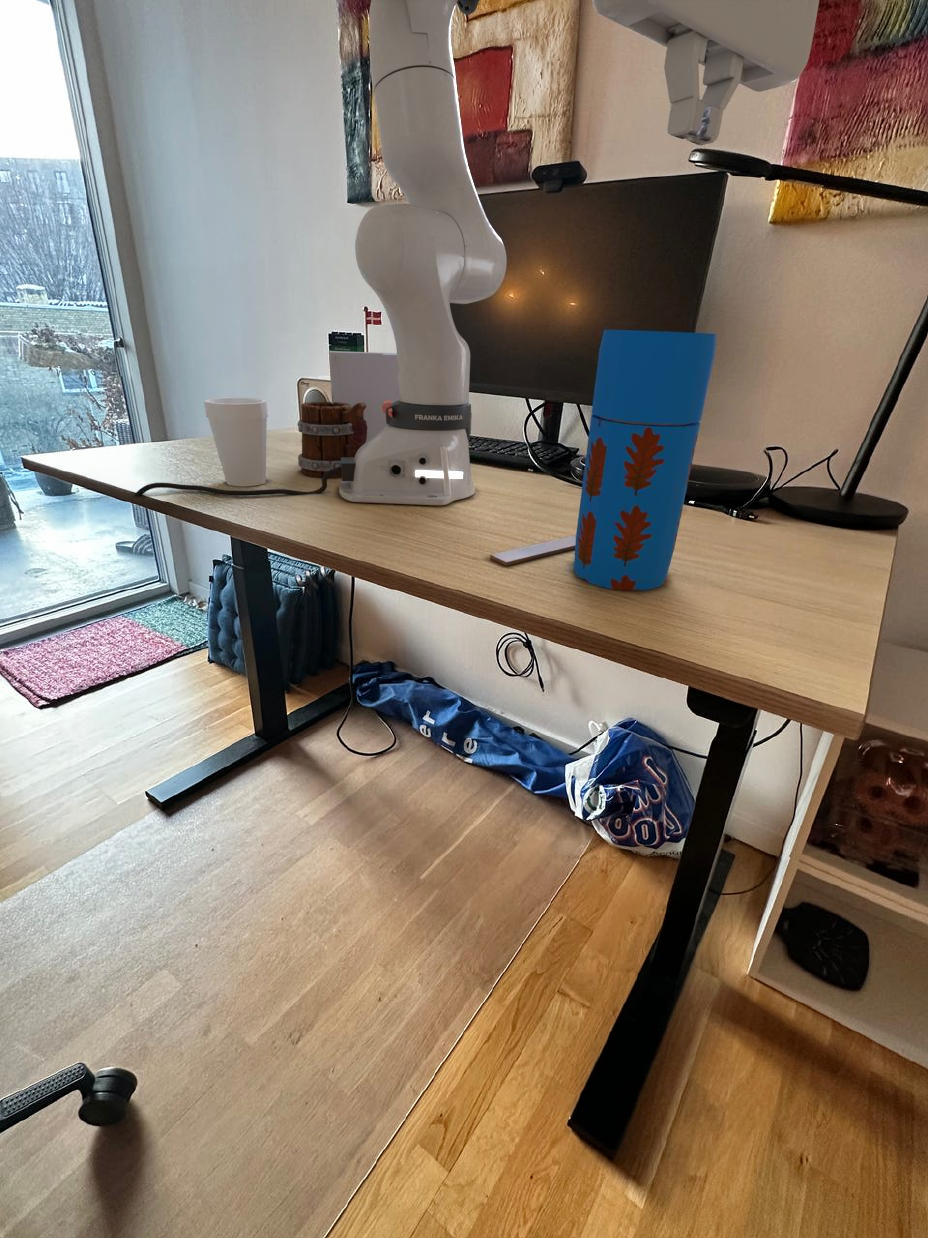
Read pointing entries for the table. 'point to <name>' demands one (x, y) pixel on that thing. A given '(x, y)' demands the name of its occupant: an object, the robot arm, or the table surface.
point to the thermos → (640, 454)
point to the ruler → (535, 551)
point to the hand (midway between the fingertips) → (692, 138)
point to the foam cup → (240, 438)
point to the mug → (330, 435)
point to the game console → (365, 383)
